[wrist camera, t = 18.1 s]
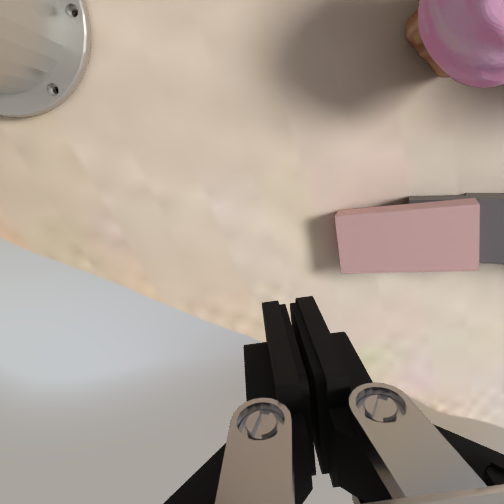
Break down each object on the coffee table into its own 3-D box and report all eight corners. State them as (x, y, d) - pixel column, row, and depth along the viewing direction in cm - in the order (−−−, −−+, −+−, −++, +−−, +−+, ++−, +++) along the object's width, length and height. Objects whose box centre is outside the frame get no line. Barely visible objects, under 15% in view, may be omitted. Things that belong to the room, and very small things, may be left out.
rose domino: (341, 273, 30) (479, 270, 26) (334, 216, 29) (479, 204, 25) (344, 264, 32) (474, 260, 28) (338, 210, 31) (475, 197, 27)
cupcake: (359, 40, 27) (420, -14, 17) (447, -70, 25) (571, -200, 15) (439, 120, 29) (534, 112, 19) (527, 23, 27) (683, -40, 17)
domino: (406, 259, 30) (556, 266, 26) (409, 200, 29) (567, 197, 25) (406, 252, 32) (546, 257, 28) (409, 196, 30) (557, 193, 26)
